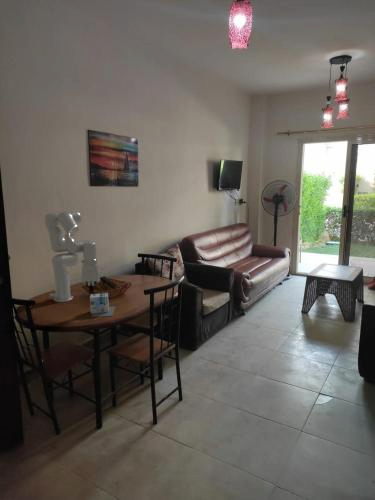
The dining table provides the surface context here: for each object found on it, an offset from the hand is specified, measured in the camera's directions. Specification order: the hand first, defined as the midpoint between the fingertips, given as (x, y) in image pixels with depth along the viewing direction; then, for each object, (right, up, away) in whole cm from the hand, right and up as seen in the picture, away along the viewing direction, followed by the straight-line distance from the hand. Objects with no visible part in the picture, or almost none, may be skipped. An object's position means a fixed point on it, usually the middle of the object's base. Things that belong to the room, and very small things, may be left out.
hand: (91, 291), depth 216 cm
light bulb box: (-2, -8, +2) cm, 8 cm away
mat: (+6, -13, +4) cm, 15 cm away
